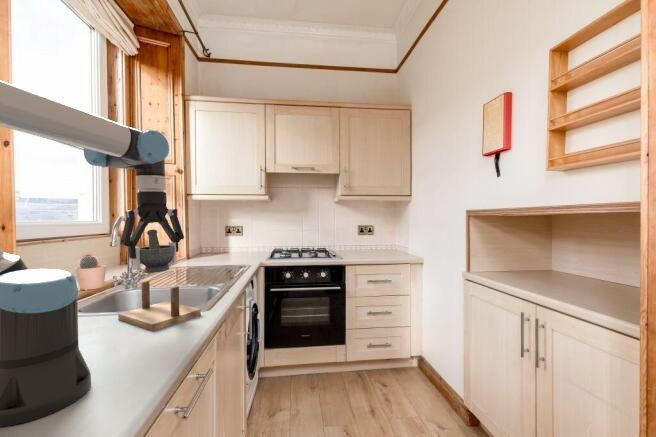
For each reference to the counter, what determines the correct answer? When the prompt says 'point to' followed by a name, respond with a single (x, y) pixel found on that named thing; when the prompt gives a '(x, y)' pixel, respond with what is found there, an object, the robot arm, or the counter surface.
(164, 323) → the peg board
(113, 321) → the counter surface
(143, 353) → the counter surface
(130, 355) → the counter surface
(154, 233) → the mortar and pestle
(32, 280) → the robot arm
